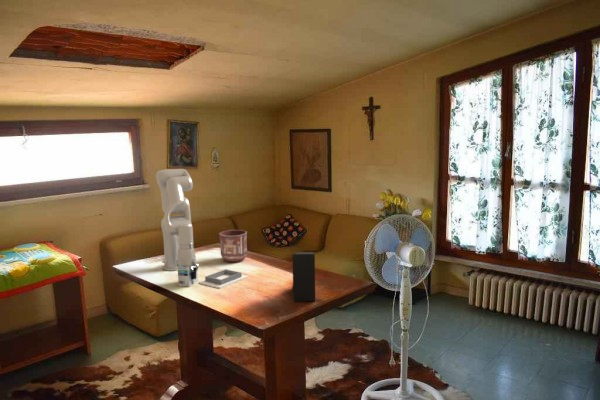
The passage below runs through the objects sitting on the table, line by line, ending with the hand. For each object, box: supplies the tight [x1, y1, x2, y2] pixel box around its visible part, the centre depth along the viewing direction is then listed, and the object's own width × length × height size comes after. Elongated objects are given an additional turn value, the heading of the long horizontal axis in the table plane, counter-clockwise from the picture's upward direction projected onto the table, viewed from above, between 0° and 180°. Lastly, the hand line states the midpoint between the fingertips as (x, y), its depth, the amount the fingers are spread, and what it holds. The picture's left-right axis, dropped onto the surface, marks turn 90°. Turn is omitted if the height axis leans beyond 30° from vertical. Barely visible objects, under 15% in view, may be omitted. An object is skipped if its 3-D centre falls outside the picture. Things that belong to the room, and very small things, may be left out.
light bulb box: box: [177, 265, 199, 288], centre depth 244 cm, size 11×7×11 cm, turn 167°
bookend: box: [291, 251, 316, 302], centre depth 225 cm, size 23×11×24 cm, turn 1°
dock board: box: [198, 269, 249, 289], centre depth 248 cm, size 16×22×3 cm
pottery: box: [218, 229, 248, 264], centre depth 287 cm, size 18×18×18 cm
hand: (188, 277), depth 244 cm, fingers closed on light bulb box, 8 cm apart
